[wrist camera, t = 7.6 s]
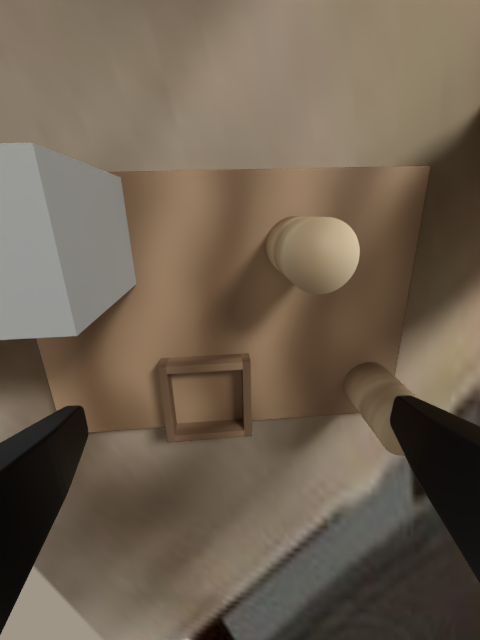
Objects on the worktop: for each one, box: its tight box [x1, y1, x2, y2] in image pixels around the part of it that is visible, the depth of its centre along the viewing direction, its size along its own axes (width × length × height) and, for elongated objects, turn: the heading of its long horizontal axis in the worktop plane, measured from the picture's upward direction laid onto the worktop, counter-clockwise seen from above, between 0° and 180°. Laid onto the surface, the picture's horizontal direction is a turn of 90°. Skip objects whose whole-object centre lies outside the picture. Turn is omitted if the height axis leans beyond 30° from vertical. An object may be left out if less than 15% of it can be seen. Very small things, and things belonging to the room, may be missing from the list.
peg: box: [266, 216, 360, 294], centre depth 15 cm, size 3×3×5 cm
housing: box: [0, 143, 136, 340], centre depth 12 cm, size 6×6×8 cm
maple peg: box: [344, 362, 419, 456], centre depth 18 cm, size 3×3×5 cm
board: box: [36, 166, 430, 442], centre depth 18 cm, size 23×16×3 cm
